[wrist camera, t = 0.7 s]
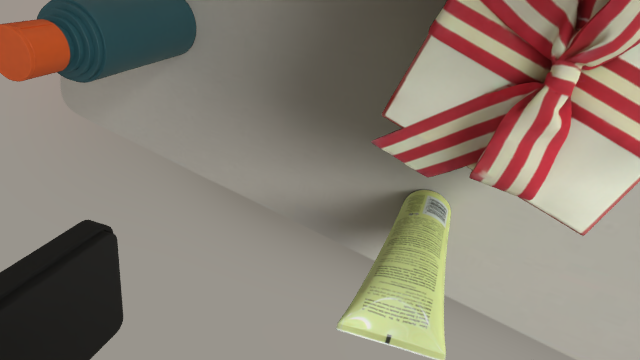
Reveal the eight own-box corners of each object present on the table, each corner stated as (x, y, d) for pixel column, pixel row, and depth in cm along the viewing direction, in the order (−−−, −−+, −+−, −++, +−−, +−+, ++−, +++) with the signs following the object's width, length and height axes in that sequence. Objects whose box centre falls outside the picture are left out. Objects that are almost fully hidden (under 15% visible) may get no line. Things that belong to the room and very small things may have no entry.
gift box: (467, -119, 35) (451, -178, 20) (703, -22, 33) (878, -10, 18) (377, 82, 44) (320, 144, 29) (561, 169, 41) (600, 283, 27)
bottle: (153, -24, 46) (-17, -18, 31) (205, 14, 46) (61, 39, 31) (134, 32, 50) (-28, 64, 34) (183, 67, 50) (42, 115, 34)
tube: (414, 240, 49) (375, 383, 33) (387, 203, 48) (334, 330, 32) (461, 219, 47) (445, 362, 30) (434, 179, 46) (402, 304, 29)
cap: (33, 7, 34) (-11, 12, 31) (75, 38, 34) (35, 45, 31) (24, 52, 36) (-18, 60, 33) (64, 81, 36) (25, 92, 33)
